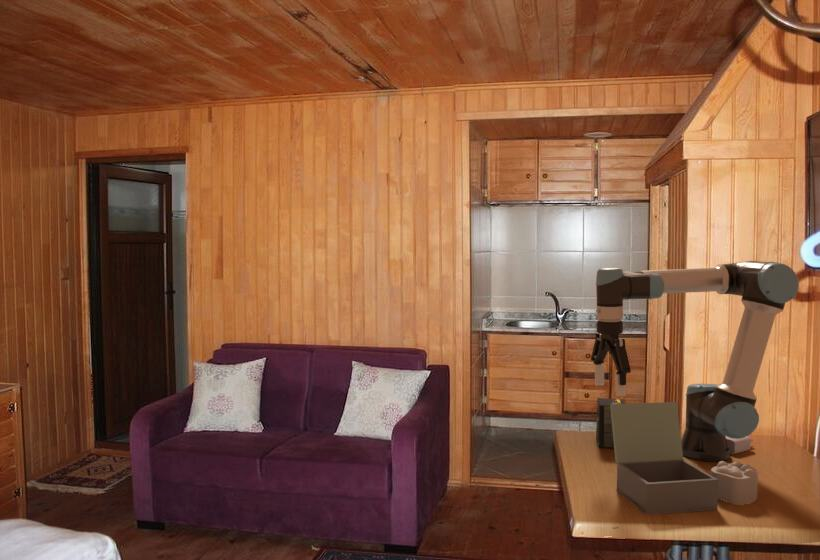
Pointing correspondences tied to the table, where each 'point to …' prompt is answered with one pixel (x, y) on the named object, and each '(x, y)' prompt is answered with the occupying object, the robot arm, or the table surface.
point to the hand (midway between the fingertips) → (610, 390)
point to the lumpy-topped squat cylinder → (736, 482)
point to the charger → (739, 444)
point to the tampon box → (605, 422)
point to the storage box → (667, 486)
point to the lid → (646, 432)
